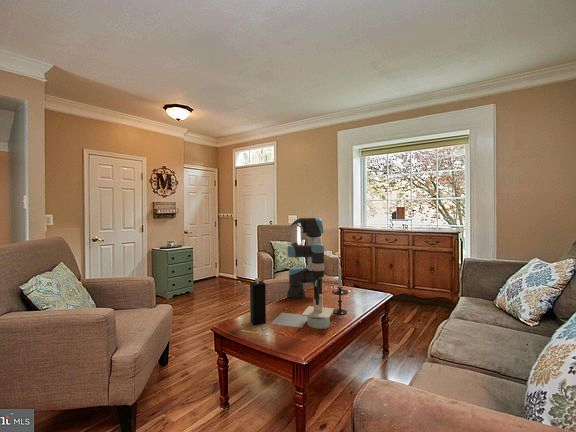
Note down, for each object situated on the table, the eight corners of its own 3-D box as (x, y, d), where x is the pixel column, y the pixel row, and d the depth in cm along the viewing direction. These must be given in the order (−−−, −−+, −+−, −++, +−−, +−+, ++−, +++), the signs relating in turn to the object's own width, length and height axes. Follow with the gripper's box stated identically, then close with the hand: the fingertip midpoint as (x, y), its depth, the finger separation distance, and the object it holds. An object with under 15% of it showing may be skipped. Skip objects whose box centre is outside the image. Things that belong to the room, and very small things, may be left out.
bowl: (310, 319, 186) (310, 310, 185) (331, 322, 181) (331, 312, 181) (305, 327, 173) (305, 317, 173) (327, 330, 169) (326, 320, 169)
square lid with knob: (308, 307, 187) (308, 290, 187) (333, 309, 182) (333, 292, 182) (301, 315, 172) (301, 297, 172) (328, 318, 167) (328, 299, 167)
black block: (250, 321, 184) (249, 277, 183) (262, 320, 186) (261, 275, 186) (253, 326, 176) (252, 279, 176) (266, 324, 179) (265, 278, 178)
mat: (281, 313, 198) (281, 312, 198) (310, 316, 191) (310, 315, 191) (270, 324, 179) (270, 323, 179) (301, 328, 172) (301, 327, 172)
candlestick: (348, 315, 192) (347, 262, 191) (331, 314, 194) (330, 261, 193) (348, 310, 202) (347, 259, 201) (332, 309, 204) (331, 259, 204)
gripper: (315, 266, 185) (315, 304, 186) (308, 272, 170) (308, 312, 171) (326, 267, 183) (327, 305, 183) (321, 272, 168) (321, 313, 168)
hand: (318, 308), depth 177 cm, fingers closed on square lid with knob, 3 cm apart
